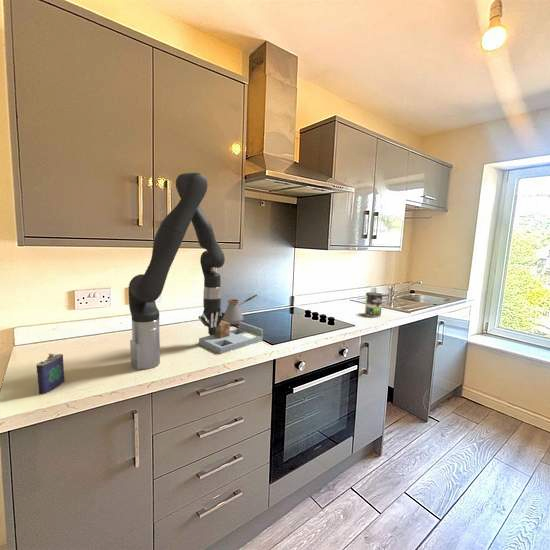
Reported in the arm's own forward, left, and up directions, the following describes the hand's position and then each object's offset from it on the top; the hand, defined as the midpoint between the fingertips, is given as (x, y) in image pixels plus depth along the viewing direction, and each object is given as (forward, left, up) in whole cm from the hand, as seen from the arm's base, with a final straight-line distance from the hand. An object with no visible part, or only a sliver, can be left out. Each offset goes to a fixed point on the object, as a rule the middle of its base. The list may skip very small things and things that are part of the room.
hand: (211, 334), depth 134 cm
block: (+5, 0, -2) cm, 6 cm away
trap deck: (+8, -4, -4) cm, 10 cm away
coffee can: (+108, -24, -4) cm, 111 cm away
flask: (-58, +1, -4) cm, 58 cm away
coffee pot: (+32, +18, -4) cm, 37 cm away
